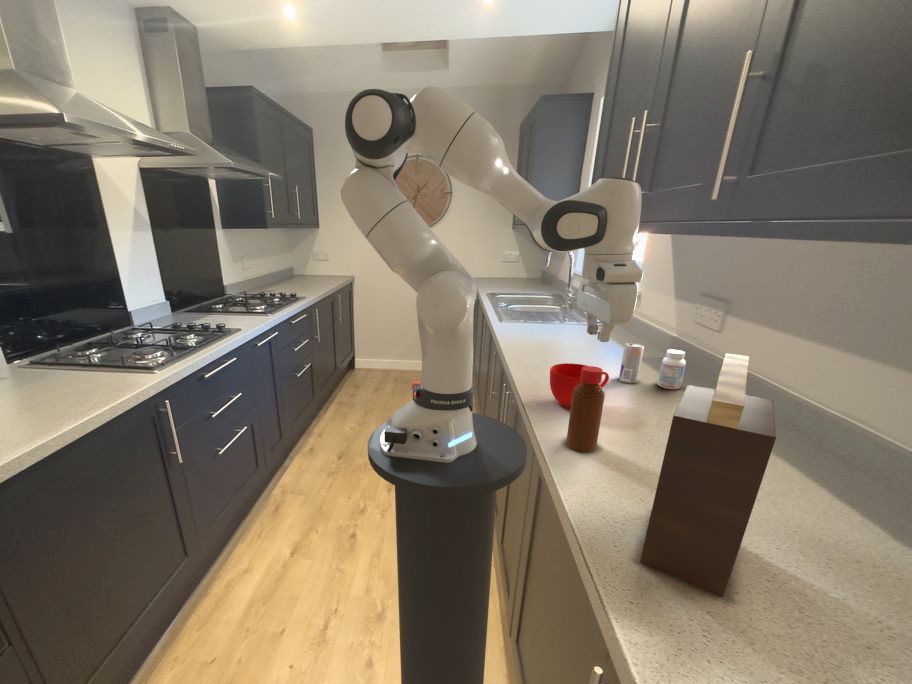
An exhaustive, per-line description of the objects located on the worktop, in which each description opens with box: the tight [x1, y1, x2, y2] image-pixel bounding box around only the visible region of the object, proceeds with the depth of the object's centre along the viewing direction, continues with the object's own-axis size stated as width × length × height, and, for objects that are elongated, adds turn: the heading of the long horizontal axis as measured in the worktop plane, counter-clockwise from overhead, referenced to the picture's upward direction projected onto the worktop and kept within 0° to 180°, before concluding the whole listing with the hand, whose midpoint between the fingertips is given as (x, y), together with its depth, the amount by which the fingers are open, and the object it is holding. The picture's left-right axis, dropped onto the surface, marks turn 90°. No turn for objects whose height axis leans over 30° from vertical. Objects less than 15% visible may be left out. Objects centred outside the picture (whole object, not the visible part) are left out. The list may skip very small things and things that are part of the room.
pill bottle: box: [657, 349, 687, 390], centre depth 125 cm, size 6×6×11 cm
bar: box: [707, 352, 750, 429], centre depth 58 cm, size 25×3×3 cm, turn 140°
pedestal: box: [639, 384, 777, 597], centre depth 59 cm, size 14×10×24 cm
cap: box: [580, 365, 604, 385], centre depth 88 cm, size 4×4×3 cm
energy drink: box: [618, 342, 645, 384], centre depth 131 cm, size 5×5×12 cm
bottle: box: [565, 382, 606, 453], centre depth 91 cm, size 6×6×18 cm
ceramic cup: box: [549, 362, 610, 409], centre depth 115 cm, size 13×17×10 cm
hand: (597, 337), depth 85 cm, fingers open, 5 cm apart
